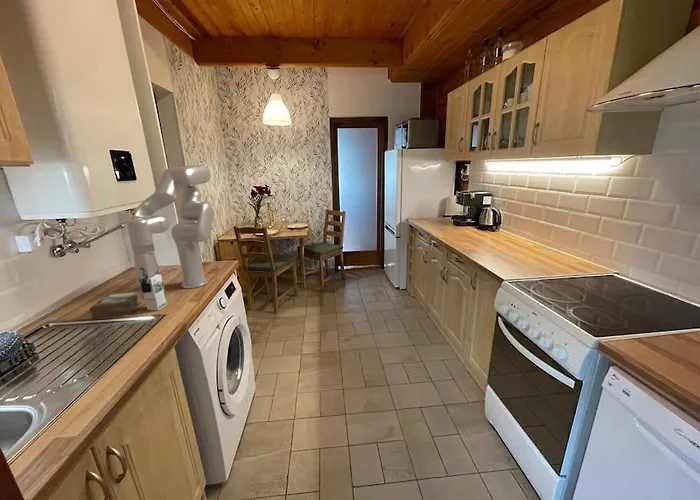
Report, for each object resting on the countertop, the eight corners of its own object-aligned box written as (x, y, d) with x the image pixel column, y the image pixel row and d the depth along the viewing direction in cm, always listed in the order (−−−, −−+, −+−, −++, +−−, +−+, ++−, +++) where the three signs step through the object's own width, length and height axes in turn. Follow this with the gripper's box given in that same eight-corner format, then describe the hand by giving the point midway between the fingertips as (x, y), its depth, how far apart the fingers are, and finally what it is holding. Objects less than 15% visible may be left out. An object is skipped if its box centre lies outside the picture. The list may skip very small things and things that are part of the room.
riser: (110, 304, 144) (107, 293, 142) (144, 300, 146) (142, 289, 144) (93, 319, 130) (89, 307, 129) (130, 314, 133) (127, 302, 131)
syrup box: (158, 310, 135) (151, 278, 131) (146, 310, 136) (138, 278, 132) (168, 304, 140) (161, 273, 136) (157, 304, 141) (149, 273, 137)
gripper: (142, 245, 138) (150, 282, 142) (123, 255, 122) (133, 297, 126) (161, 243, 140) (168, 280, 144) (144, 253, 123) (153, 294, 127)
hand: (152, 288), depth 135 cm, fingers open, 9 cm apart
